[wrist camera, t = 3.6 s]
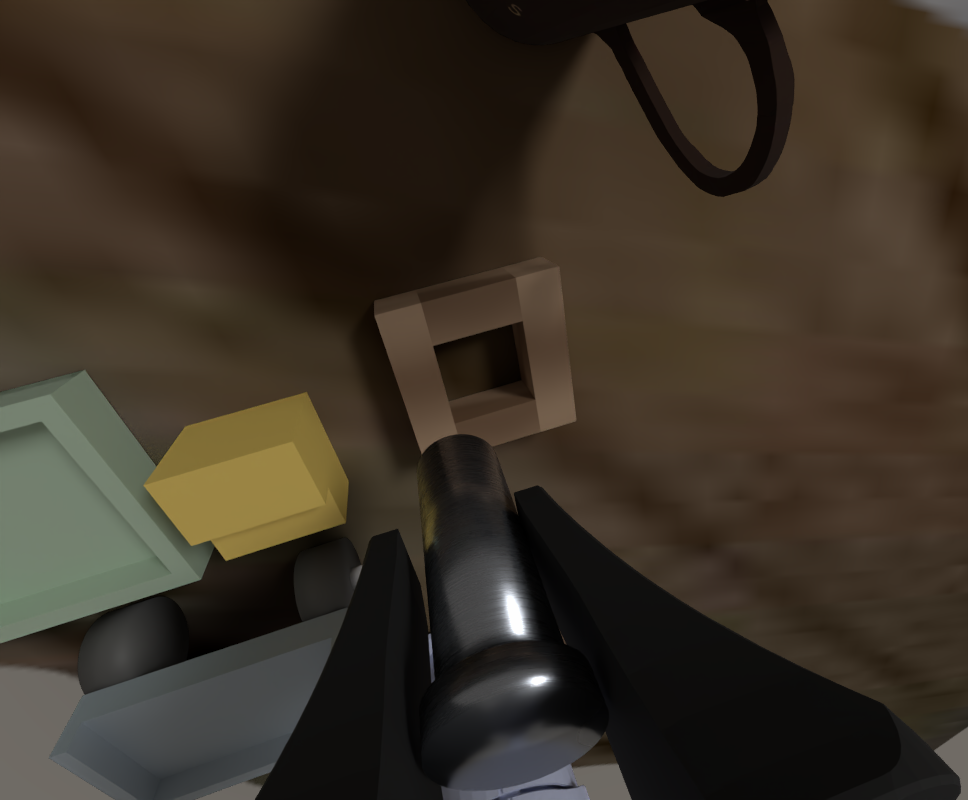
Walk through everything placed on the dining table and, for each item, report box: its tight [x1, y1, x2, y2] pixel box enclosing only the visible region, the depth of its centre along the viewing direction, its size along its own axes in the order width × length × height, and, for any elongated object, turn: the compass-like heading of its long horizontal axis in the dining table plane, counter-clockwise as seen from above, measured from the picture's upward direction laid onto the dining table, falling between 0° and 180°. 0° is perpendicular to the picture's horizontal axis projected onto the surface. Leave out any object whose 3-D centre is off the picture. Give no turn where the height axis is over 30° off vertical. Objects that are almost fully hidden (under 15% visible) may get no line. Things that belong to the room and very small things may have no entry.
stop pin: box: [417, 434, 609, 791], centre depth 10 cm, size 3×3×7 cm
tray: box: [0, 370, 215, 643], centre depth 17 cm, size 10×10×2 cm
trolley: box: [49, 537, 362, 800], centre depth 21 cm, size 9×12×6 cm
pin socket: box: [374, 257, 576, 453], centre depth 18 cm, size 7×7×2 cm
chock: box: [143, 392, 349, 561], centre depth 18 cm, size 5×5×4 cm
